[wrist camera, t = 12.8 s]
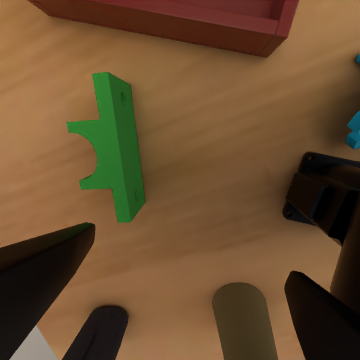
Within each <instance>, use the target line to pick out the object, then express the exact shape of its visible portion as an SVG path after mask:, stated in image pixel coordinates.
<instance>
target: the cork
mask: <svg viewBox="0 0 360 360" xmlns="http://www.w3.org/2000/svg"><path fill="white" fill-rule="evenodd" d="M212 303H213V309H214V314H215V318H216V323H217V328H218V332H219V337H220V342H221V346H222V351H223V355H224V360H278V356H277V351H276V347H275V342H274V337H273V332H272V328H271V323H270V318H269V313H268V309H267V304H266V299H265V298H264V296H263V294H262V293H261V292H260V291H259V290H258V289H257V288H256V287H254V286H251V285H249V284H245V283H231V284H228V285H225V286H223V287H222V288H221V289H219V290H218V291H217V292H216V294H215V295H214V298H213V302H212Z"/></svg>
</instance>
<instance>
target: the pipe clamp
mask: <svg viewBox="0 0 360 360" xmlns="http://www.w3.org/2000/svg"><path fill="white" fill-rule="evenodd" d="M92 76H93V81H94V87H95V93H96V99H97V105H98V110H99V116H100V120H88V121H76V122H67V127H68V132H69V133H77V134H79V135H82V136H83V137H85V138H86V139H87V140H88V141H89V142H90V143H91V144H92V145H93V147H94V149H95V151H96V154H97V167H96V170H95V172H94V173H93V174H92V175H90V176H88V177H86V178H84V179H82V180H80V181H79V183H80V187H81V190H84V189H109V188H112V192H113V198H114V203H115V209H116V215H117V221H118V223H120V222H131V221H132V220H133V218H134V217H135V216H136V214H137V213H138V211H139V210H140V209H141V207H142V206H143V204H144V203H145V195H144V188H143V180H142V172H141V164H140V156H139V148H138V141H137V133H136V125H135V117H134V109H133V101H132V94H131V86H130V84H128V83H126V82H125V81H123V80H121V79H119V78H118V77H116V76H114V75H112V74H110V73H109V72H104V73H95V74H92Z"/></svg>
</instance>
